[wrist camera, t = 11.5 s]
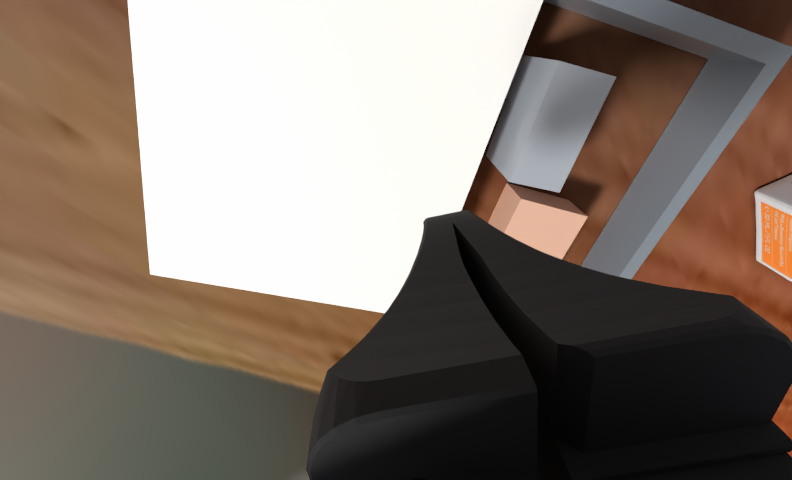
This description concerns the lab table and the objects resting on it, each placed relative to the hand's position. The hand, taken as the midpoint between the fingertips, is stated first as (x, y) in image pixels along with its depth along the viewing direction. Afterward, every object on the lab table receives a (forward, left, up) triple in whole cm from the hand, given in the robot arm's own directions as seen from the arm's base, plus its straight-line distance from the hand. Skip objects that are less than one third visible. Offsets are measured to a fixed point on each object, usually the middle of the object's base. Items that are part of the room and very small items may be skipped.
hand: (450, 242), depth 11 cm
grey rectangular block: (-4, -3, -8) cm, 9 cm away
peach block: (-7, +3, -7) cm, 11 cm away
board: (+5, 0, -10) cm, 11 cm away
